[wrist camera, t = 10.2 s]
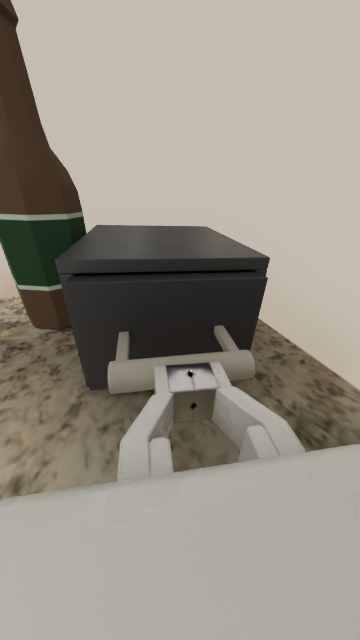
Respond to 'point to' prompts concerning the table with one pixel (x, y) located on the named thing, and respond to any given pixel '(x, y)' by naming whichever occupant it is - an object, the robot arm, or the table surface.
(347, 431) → the table surface
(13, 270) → the beer bottle
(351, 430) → the table surface
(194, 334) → the drawer
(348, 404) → the table surface
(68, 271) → the cabinet
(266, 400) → the table surface
